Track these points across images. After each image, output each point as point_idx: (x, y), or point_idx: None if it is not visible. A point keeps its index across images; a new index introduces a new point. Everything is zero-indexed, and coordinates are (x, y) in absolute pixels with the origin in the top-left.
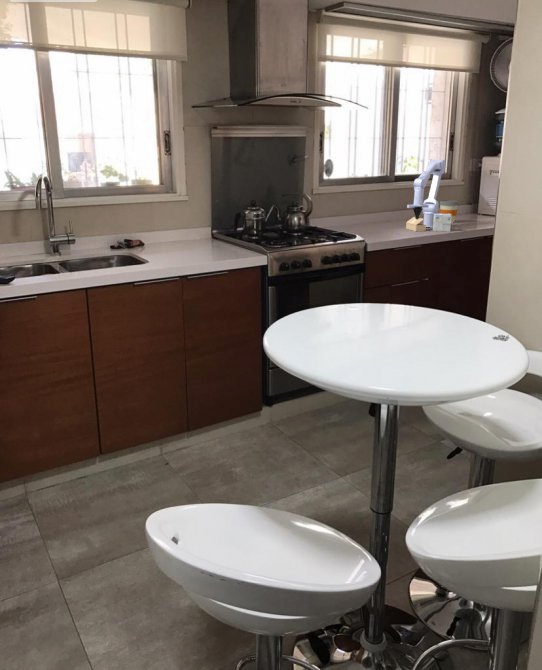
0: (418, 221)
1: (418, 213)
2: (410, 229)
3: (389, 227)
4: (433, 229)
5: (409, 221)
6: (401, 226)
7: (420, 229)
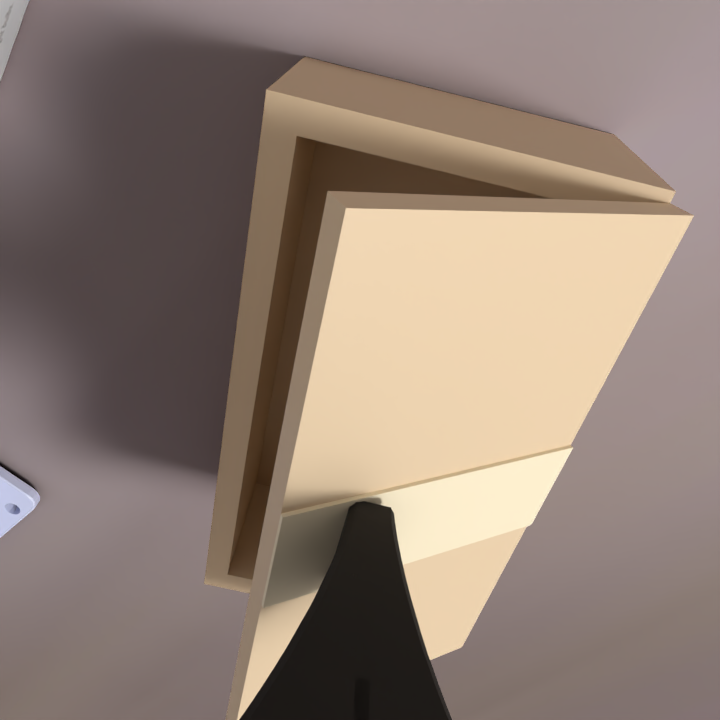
0: (505, 323)
1: (373, 706)
2: None
3: (530, 716)
4: (6, 18)
5: (443, 616)
6: None
7: (481, 110)
